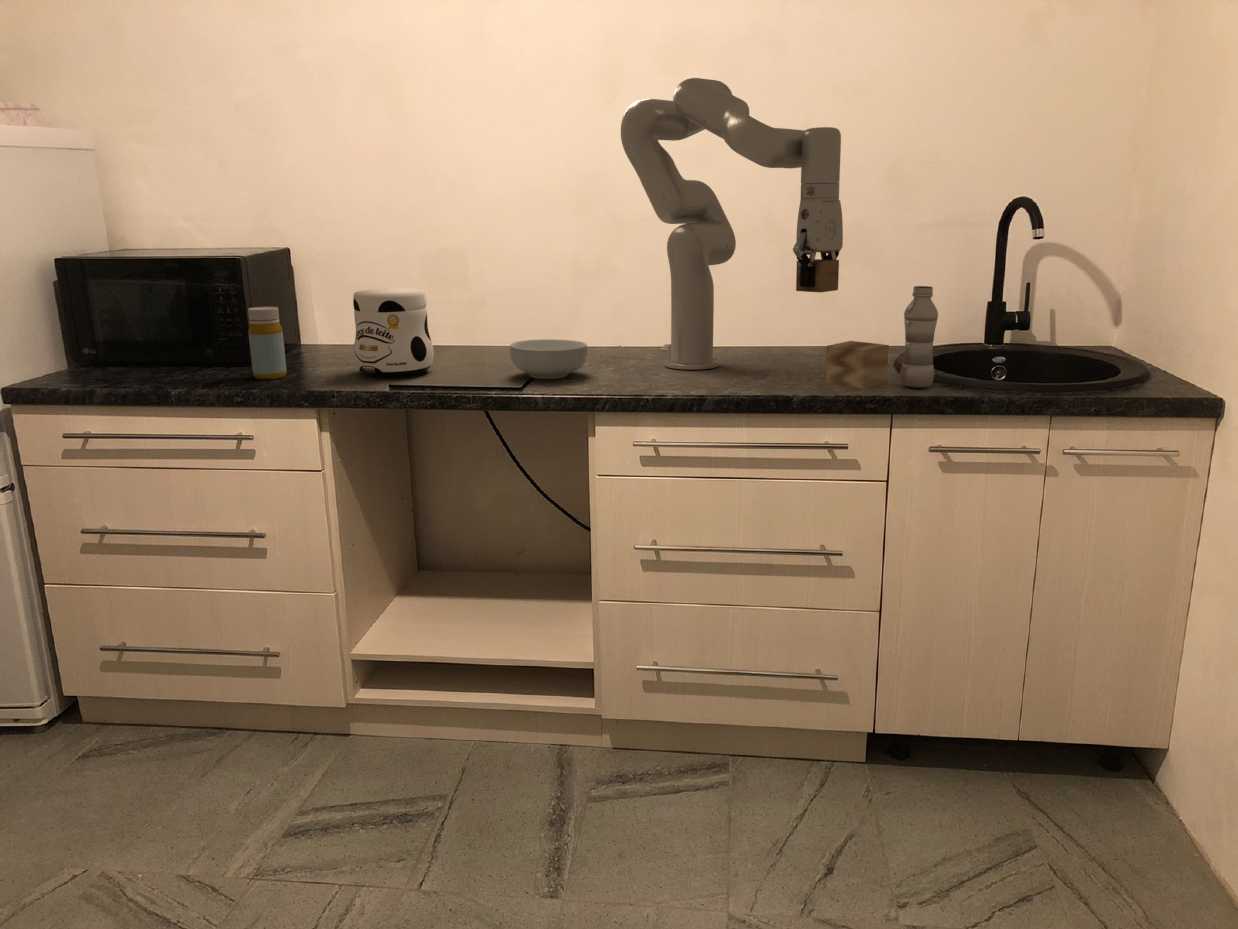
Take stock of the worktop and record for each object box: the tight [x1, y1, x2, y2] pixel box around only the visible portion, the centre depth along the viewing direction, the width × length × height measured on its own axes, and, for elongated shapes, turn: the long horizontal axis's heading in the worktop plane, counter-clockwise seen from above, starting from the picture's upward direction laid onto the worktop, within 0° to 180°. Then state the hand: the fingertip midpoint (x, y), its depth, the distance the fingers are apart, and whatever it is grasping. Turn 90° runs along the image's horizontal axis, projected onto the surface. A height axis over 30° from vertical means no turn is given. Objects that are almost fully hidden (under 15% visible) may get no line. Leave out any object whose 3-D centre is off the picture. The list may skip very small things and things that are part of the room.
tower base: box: [825, 364, 889, 389], centre depth 204 cm, size 9×9×4 cm
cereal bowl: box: [509, 338, 588, 380], centre depth 214 cm, size 17×17×7 cm
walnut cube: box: [795, 258, 840, 293], centre depth 200 cm, size 6×6×6 cm
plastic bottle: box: [899, 285, 939, 389], centre depth 196 cm, size 6×7×20 cm
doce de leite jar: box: [352, 287, 435, 377], centre depth 218 cm, size 17×17×18 cm
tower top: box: [825, 340, 890, 370], centre depth 204 cm, size 9×9×4 cm
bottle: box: [247, 306, 287, 380], centre depth 215 cm, size 7×7×15 cm
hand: (817, 284), depth 200 cm, fingers closed on walnut cube, 6 cm apart
